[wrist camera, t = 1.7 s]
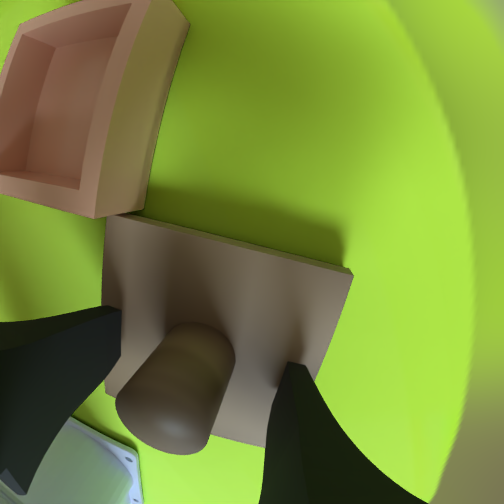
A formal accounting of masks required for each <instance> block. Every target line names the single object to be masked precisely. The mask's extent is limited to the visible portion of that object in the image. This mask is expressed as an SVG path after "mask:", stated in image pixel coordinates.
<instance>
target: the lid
mask: <svg viewBox="0 0 504 504" xmlns="http://www.w3.org/2000/svg"><path fill="white" fill-rule="evenodd" d="M353 277H354V275H353V274H352V272H351V271H350V269H349V268H345V267H341V266H337V265H334V264H330V263H326V262H322V261H318V260H314V259H310V258H306V257H302V256H298V255H294V254H290V253H286V252H282V251H279V250H275V249H271V248H267V247H263V246H259V245H255V244H251V243H247V242H243V241H239V240H235V239H231V238H227V237H223V236H218V235H214V234H210V233H206V232H202V231H198V230H194V229H190V228H186V227H182V226H178V225H174V224H170V223H166V222H161V221H157V220H153V219H149V218H145V217H141V216H137V215H133V214H128V213H121V214H116V215H111V216H107V220H106V230H105V240H104V253H103V269H102V299H101V306H106V305H109V306H111V307H114V308H117V309H119V310H122V318H121V357H120V358H119V360H118V361H117V363H116V365H115V366H114V367H113V369H112V370H111V372H110V373H109V375H108V376H107V377H106V378H105V379H104V382H105V392H106V394H108V395H110V396H112V397H114V398H116V400H115V406H116V410H117V413H118V416H119V418H120V419H121V421H122V423H123V424H124V425H125V427H126V428H127V429H128V430H129V431H130V432H131V433H132V434H133V435H134V436H136V437H137V438H138V439H139V440H141V441H142V442H144V443H145V444H147V445H149V446H151V447H153V448H155V449H157V450H160V451H163V452H166V453H170V454H176V455H189V454H194V453H197V452H199V451H200V450H202V449H203V448H204V447H205V446H206V444H207V442H208V439H209V436H210V434H212V435H215V436H219V437H222V438H226V439H230V440H234V441H237V442H242V443H246V444H250V445H254V446H259V447H264V448H265V446H266V433H267V426H268V421H269V416H270V411H271V406H272V403H273V400H274V397H275V395H276V392H277V389H278V387H279V384H280V381H281V378H282V376H283V373H284V370H285V367H286V365H287V362H288V361H290V362H294V363H299V364H303V365H306V367H307V368H308V370H309V372H310V374H311V376H312V378H313V380H314V381H315V378H316V376H317V374H318V371H319V369H320V367H321V364H322V362H323V359H324V357H325V354H326V352H327V349H328V347H329V344H330V342H331V339H332V336H333V334H334V331H335V329H336V326H337V323H338V320H339V318H340V315H341V312H342V309H343V306H344V304H345V301H346V298H347V295H348V292H349V289H350V286H351V283H352V280H353Z"/></svg>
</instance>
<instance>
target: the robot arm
mask: <svg viewBox="0 0 504 504" xmlns="http://www.w3.org/2000/svg"><path fill="white" fill-rule="evenodd" d="M121 318H122V310H119V309H117V308H114V307H111V306H109V305H106V306H99V307H94V308H89V309H84V310H80V311H76V312H71V313H67V314H62V315H57V316H52V317H46V318H41V319H35V320H27V321H16V322H0V504H144V501H143V494H142V486H141V478H140V469H139V459H138V454H137V452H136V451H135V450H134V449H132V448H130V447H128V446H126V445H123V444H121V443H119V442H117V441H115V440H113V439H111V438H109V437H107V436H105V435H103V434H101V433H99V432H97V431H95V430H94V429H92V428H90V427H88V426H86V425H85V424H83V423H81V422H79V421H78V420H76V419H74V418H73V417H71V415H72V414H73V412H74V411H75V410H76V409H77V408H78V407H79V406H80V405H81V404H82V403H83V402H84V400H85V399H86V398H87V397H88V396H89V395H90V394H91V393H92V392H93V391H94V390H95V389H96V388H97V387H98V386H99V384H100V383H101V382H102V381H103V380H104V379H105V378H106V377H107V376H108V375H109V373H110V372H111V370H112V369H113V367H114V366H115V365H116V363H117V361H118V360H119V358H120V357H121ZM259 504H428V503H426V502H424V501H423V500H421V499H419V498H417V497H416V496H414V495H412V494H411V493H409V492H408V491H406V490H405V489H403V488H402V487H401V486H399V485H398V484H396V483H395V482H394V481H392V480H391V479H390V478H389V477H387V476H386V475H385V474H384V473H383V472H381V471H380V470H379V469H378V468H377V467H376V466H375V465H374V464H373V463H372V462H371V461H370V460H369V459H368V458H367V457H366V456H365V455H364V454H363V453H362V452H361V451H360V450H359V449H358V448H357V447H356V445H355V444H354V443H353V442H352V441H351V439H350V438H349V437H348V436H347V435H346V433H345V432H344V431H343V429H342V428H341V427H340V425H339V424H338V422H337V421H336V419H335V418H334V416H333V415H332V413H331V411H330V410H329V408H328V406H327V405H326V403H325V401H324V399H323V398H322V396H321V394H320V392H319V390H318V388H317V386H316V384H315V382H314V380H313V378H312V376H311V374H310V372H309V370H308V368H307V367H306V365H303V364H299V363H294V362H290V361H288V362H287V365H286V367H285V370H284V373H283V376H282V378H281V381H280V384H279V387H278V389H277V392H276V395H275V397H274V400H273V403H272V406H271V411H270V416H269V421H268V426H267V433H266V446H265V459H264V472H263V483H262V490H261V495H260V500H259Z"/></svg>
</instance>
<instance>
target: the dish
mask: <svg viewBox="0 0 504 504" xmlns="http://www.w3.org/2000/svg"><path fill="white" fill-rule="evenodd" d="M189 27H190V23H189V22H188V21H187V19H186V18H185V17H184V15H183V14H182V13H181V11H180V10H179V9H178V7H177V6H176V5H175V3H174V2H173V1H172V0H82V1H79V2H76V3H73V4H69V5H66V6H64V7H61V8H58V9H55V10H52V11H50V12H47V13H45V14H42V15H40V16H37V17H35V18H33V19H30V20H28V21H26V22H24V23H21V24H20V25H19V28H18V30H17V32H16V34H15V37H14V39H13V42H12V44H11V47H10V49H9V52H8V54H7V57H6V60H5V63H4V66H3V69H2V72H1V75H0V194H4V195H8V196H11V197H15V198H18V199H22V200H26V201H29V202H33V203H37V204H40V205H44V206H48V207H51V208H55V209H59V210H62V211H66V212H70V213H73V214H77V215H81V216H85V217H88V218H92V219H96V218H101V217H106V216H111V215H116V214H121V213H126V212H131V211H137V210H142V209H144V204H145V198H146V192H147V186H148V181H149V175H150V170H151V165H152V160H153V155H154V150H155V146H156V141H157V137H158V132H159V128H160V124H161V120H162V116H163V112H164V108H165V104H166V100H167V96H168V93H169V89H170V86H171V82H172V79H173V75H174V72H175V69H176V66H177V62H178V59H179V56H180V53H181V50H182V47H183V44H184V41H185V38H186V35H187V33H188V30H189Z"/></svg>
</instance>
